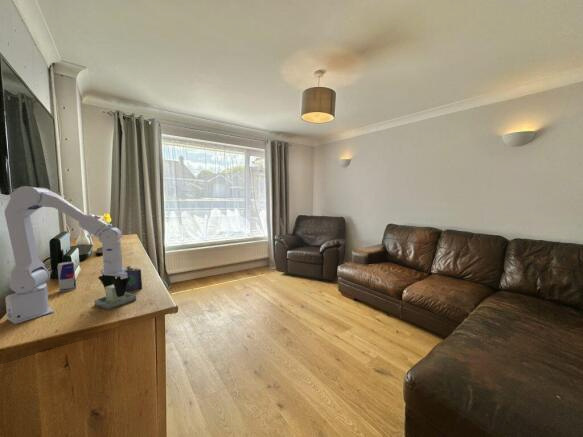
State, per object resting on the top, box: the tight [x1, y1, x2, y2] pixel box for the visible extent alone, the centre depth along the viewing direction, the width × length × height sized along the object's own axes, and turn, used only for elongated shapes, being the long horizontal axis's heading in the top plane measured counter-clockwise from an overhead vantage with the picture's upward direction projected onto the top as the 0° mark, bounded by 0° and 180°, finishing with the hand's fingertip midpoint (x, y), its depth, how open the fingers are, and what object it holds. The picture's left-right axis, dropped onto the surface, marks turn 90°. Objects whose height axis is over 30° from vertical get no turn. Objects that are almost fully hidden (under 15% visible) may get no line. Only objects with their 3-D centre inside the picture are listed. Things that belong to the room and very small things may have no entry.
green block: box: [104, 285, 126, 303], centre depth 91 cm, size 4×4×6 cm
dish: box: [94, 291, 137, 311], centre depth 91 cm, size 10×10×2 cm
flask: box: [125, 265, 143, 292], centre depth 104 cm, size 9×3×11 cm, turn 109°
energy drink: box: [56, 261, 77, 293], centre depth 105 cm, size 5×5×12 cm
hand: (115, 294), depth 91 cm, fingers open, 7 cm apart
